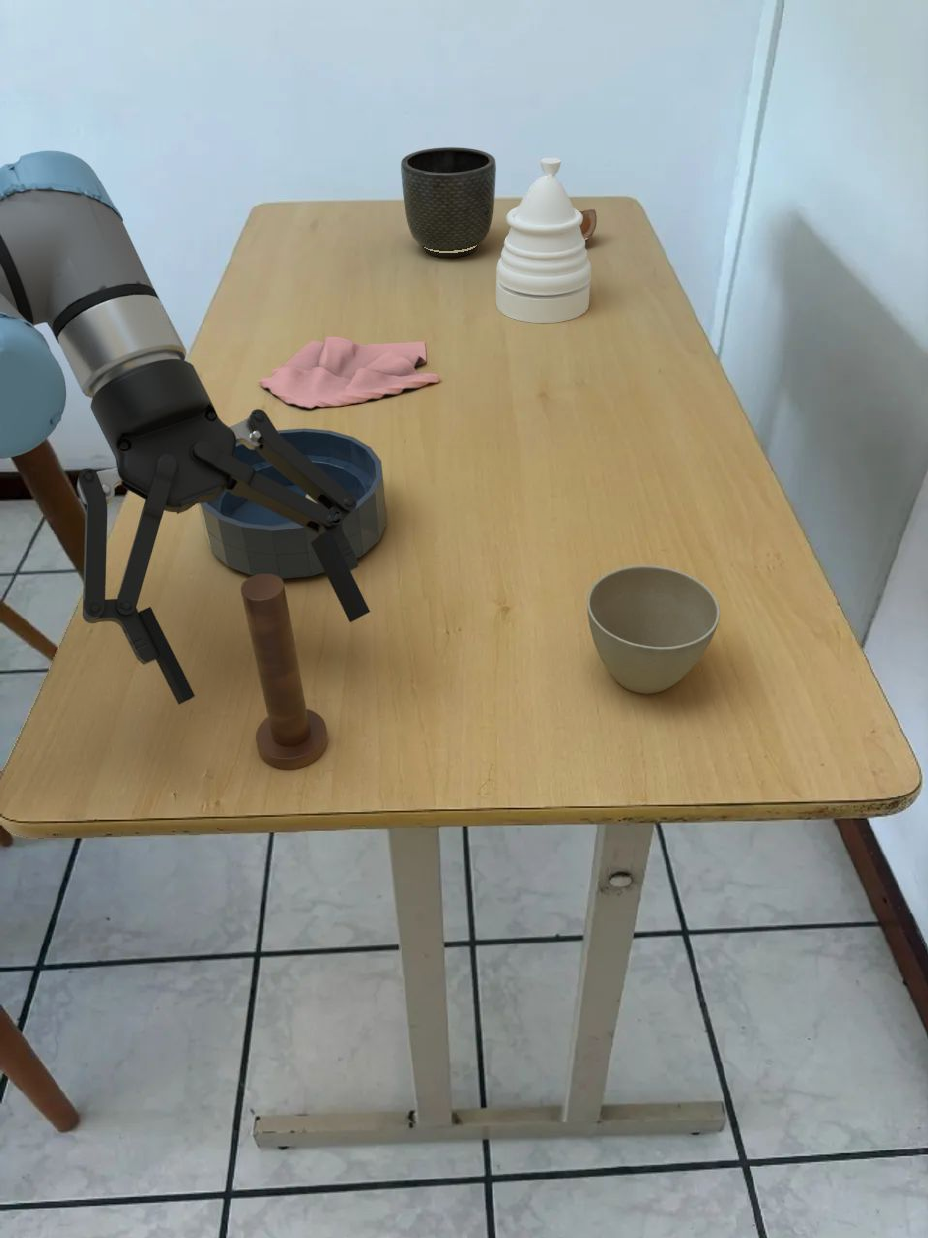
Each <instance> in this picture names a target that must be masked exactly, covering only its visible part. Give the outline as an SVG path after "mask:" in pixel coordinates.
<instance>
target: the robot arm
mask: <svg viewBox="0 0 928 1238" xmlns="http://www.w3.org/2000/svg"><path fill="white" fill-rule="evenodd" d="M44 323H46V324H47V325H48V327H49V328H50V330H51V332H52V334H53V336H54V338H55V340H56V342H57V344H58V345H59V346H60V347H59V348H61V350H62V354H63V355H64V357H65V359H66V361H67V363H68V365H69V367H70V369H71V372H72V374H73V375H74V377H75V380H76V382H77V384H78V386H79V388H80V390H81V392H82V393H83V395H85V396H86V397H87V398H90V399H91V402H90V410H91V412H92V414H93V416H94V418H95V420H96V422H97V424H98V426H99V428H100V430H101V432H102V434H103V436H104V438H105V440H106V442H107V444H108V446H109V448H110V450H111V452H112V454H113V456H114V458H115V465H116V466H114V467H110V468H106V469H103V470H97V471H95V470H94V469H93V468H89V467H88V468H83V469H82V470H80V471H79V474H78V476H77V482H76V483H77V484H76V491H77V493H78V494H77V495H79V499H80V501H81V504H82V508H83V510H84V512H85V523H84V525H85V526H84V555H83V556H84V557H83V559H84V561H83V589H82V590H83V591H82V593H83V594H82V617H83V619H84V621H85V622H86V623H88V624H97V623H103V622H113V623H116V624H118V625H119V626H120V628H121V630H122V632H123V634H124V636H125V638H126V640H127V642H128V644H129V646H130V648H131V649H132V652H133V653H134V654H133V655H134V656H135V657H136V660H137V661H139V663H141V664H142V665H143V666H145V665H147V664H149V663H151V662H154V661H156V663H157V665H158V667H159V669H160V671H161V673H162V675H163V677H164V679H165V681H166V683H167V685H168V687H169V689H170V691H171V692H172V695H173V696H174V699H175V701H176V703H177V704H178V705H182V704H183V703H186V702H188V701H190V700H191V699H193V698H195V697H196V694H195V693H194V691H193V689H192V687H191V685H190V683H189V681H188V679H187V677H186V675H185V673H184V671H183V669H182V666H181V665H180V663H179V661H178V659H177V657H176V655H175V653H174V651H173V649H172V647H171V645H170V643H169V641H168V639H167V637H166V635H165V633H164V631H163V629H162V627H161V624H160V623H159V621H158V619H157V616H156V615H155V613H154V611H153V609H152V607H151V606H149V607H147V608H144V609H142V610H140V611H139V610H138V608H137V606H138V603H139V598H140V596H141V592H142V588H143V585H144V581H145V579H146V575H147V570H148V567H149V564H150V560H151V557H152V553H153V551H154V546H155V543H156V539H157V535H158V532H159V528H160V526H161V525H160V524H161V521H162V519H163V515H164V513H165V511H166V512H168V513H176V515H179V514H181V513H184V512H187V511H188V510H190V509H191V508H192V507H194V506H195V505H198V503H205V502H210V501H213V500H215V499H218V497H219V496H220V495H221V494H222V493H223V492H224V490H225V491H227V492H229V493H231V494H233V495H236V496H242V497H245V498H247V499H249V500H251V501H253V502H255V503H257V504H259V505H261V506H263V507H265V508H267V509H269V510H271V511H273V512H275V513H277V514H279V515H281V516H283V517H285V518H287V519H289V520H291V521H293V522H295V523H297V524H299V525H301V526H303V527H305V528H307V529H309V530H311V531H313V532H315V533H317V534H319V536H318V537H317V538H316V539H315V540H314V541H313V542H311V545H312V547H313V549H314V551H315V553H316V555H317V557H318V559H319V561H320V563H321V565H322V567H323V569H324V571H325V572H324V573H325V576H326V577H327V579H328V581H329V583H330V585H331V587H332V589H333V591H334V593H335V596H336V597H337V600H338V601H339V603H340V605H341V607H342V610H343V612H344V614H345V616H346V617H347V620H348V621H349V623H351V622H354V621H356V620H358V619H360V618H362V617H363V616H366V615H367V614H369V613H371V610H370V608H369V607H368V604H367V602H366V600H365V597H364V596H363V593H362V592H361V589H360V588H359V586H358V584H357V581H356V579H355V578H354V576H353V573H352V571H354V570H356V569H357V568H358V567H359V565H358V563H359V562H358V558H356V556H355V554H354V552H353V550H352V548H351V546H350V544H349V542H348V540H347V538H346V536H345V534H344V532H343V529H342V522H343V520H344V519H345V518H346V517H347V516H348V515H349V514H350V513H351V512H352V511H353V509H355V508H356V506H357V501H356V499H355V498H354V496H352V495H351V494H350V493H349V492H348V491H346V490H345V489H344V488H343V487H342V486H340V485H339V484H338V483H337V482H336V481H334V480H333V479H332V478H331V477H330V476H329V475H327V474H326V473H325V472H324V471H323V470H321V469H320V468H319V467H318V466H317V465H315V464H314V463H313V462H312V461H311V460H309V459H308V458H307V457H306V456H305V455H303V454H302V453H301V452H300V451H299V450H297V449H296V448H295V447H294V446H293V445H291V444H290V443H289V442H288V441H287V440H286V439H284V438H283V437H282V436H281V435H280V434H279V433H278V432H277V431H278V429H277V428H276V427H275V425H274V424H273V422H272V420H271V419H270V417H269V415H268V414H267V413H266V412H265V411H264V410H262V409H261V408H260V409H259V408H257V409H254V410H252V411H251V413H250V414H249V416H248V417H247V418H246V419H243V420H241V421H239V422H237V423H236V424H233V425H231V426H228V425H227V424H226V423H224V422H223V420H222V419H221V418H220V417H219V414H218V412H217V411H216V409H215V406H214V404H213V402H212V400H211V398H210V396H209V394H208V392H207V390H206V388H205V386H204V384H203V382H202V380H201V378H200V376H199V374H198V372H197V370H196V368H195V366H194V364H193V363H191V362H188V361H186V358H187V356H188V354H187V348H186V347H185V345H184V343H183V341H182V339H181V337H180V335H179V333H178V332H177V329H176V328H175V326H174V324H173V322H172V320H171V318H170V316H169V314H168V312H167V310H166V309H165V306H164V304H163V303H162V301H161V298H160V297H159V295H158V293H157V292H156V290H155V288H154V285H153V283H152V282H151V280H150V278H149V275H148V273H147V271H146V269H145V267H144V264H143V262H142V260H141V257H140V256H139V254H138V252H137V249H136V247H135V245H134V243H133V241H132V239H131V237H130V235H129V232H128V231H127V228H126V226H125V224H124V218H123V217H122V214H121V212H120V211H119V210H118V208H117V207H116V206H115V204H114V203H113V201H112V198H111V197H110V195H109V193H108V191H107V189H106V188H105V187H104V184H103V183H102V181H101V180H100V179H99V176H98V175H97V173H96V172H95V170H94V169H93V168H92V167H91V166H90V164H89V163H87V162H86V161H85V160H84V159H82V158H81V157H79V156H77V155H75V154H72V153H70V152H66V151H61V150H40V151H35V152H30V153H26V154H23V155H21V156H19V160H18V161H16V162H14V163H5V164H4V165H2V166H0V460H5V459H8V458H15V457H17V456H22V455H24V454H26V453H28V452H31V451H32V450H34V449H36V448H37V447H39V446H40V445H41V444H42V443H44V442H45V441H46V440H47V439H48V438H49V437H50V436H51V435H52V434H53V432H54V431H55V430H56V428H57V426H58V424H59V423H61V421H62V415H63V413H64V411H65V408H66V403H67V402H66V401H67V385H66V379H65V375H64V373H63V370H62V367H61V366H60V363H59V362H58V360H57V359H56V357H55V355H54V354H53V351H52V350H51V347H50V345H49V343H48V341H47V339H46V338H45V336H44V335H43V333H42V332H40V330H38V329H37V328H35V326H37V325H40V324H44ZM236 443H242V444H244V445H245V446H246V447H247V448H248V449H250V450H257V452H258V453H259V454H260V455H261V456H262V457H263V458H264V459H265V460H266V461H267V462H269V463H270V464H271V465H272V466H273V467H275V468H276V469H277V470H278V471H279V472H281V473H282V474H283V475H284V476H285V477H287V478H288V479H289V480H290V481H292V482H293V483H294V484H295V485H296V486H298V487H299V488H300V489H301V490H302V491H304V492H305V493H306V494H307V495H308V496H310V497H311V498H312V499H313V500H314V501H316V502H317V503H316V502H314V501H312V500H310V499H308V498H306V497H304V496H302V495H300V494H298V493H296V492H294V491H292V490H290V489H288V488H286V487H284V486H282V485H281V484H279V483H277V482H275V481H273V480H271V479H269V478H267V477H265V476H263V475H261V474H259V473H257V472H256V471H255V469H254V468H253V467H251V466H249V465H247V464H245V463H243V462H241V461H239V460H237V459H235V458H234V453H235V447H236ZM118 486H122V487H123V489H126V490H128V492H129V491H130V492H131V493H133V494H135V495H136V496H138V497H140V498H142V499H143V500H144V503H143V508H142V510H141V513H140V517H139V520H138V525H137V529H136V531H135V535H134V539H133V542H132V546H131V549H130V553H129V556H128V560H127V562H126V567H125V570H124V573H123V576H122V580H121V583H120V587H119V591H118V594H117V598H110V599H107V598H106V585H107V583H106V582H107V547H108V545H107V544H108V543H107V542H108V505H109V504H111V503H112V502H113V501H114V498H115V494H116V491H115V490H116V488H117V487H118Z"/></svg>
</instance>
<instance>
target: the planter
mask: <svg viewBox="0 0 928 1238" xmlns="http://www.w3.org/2000/svg"><path fill="white" fill-rule="evenodd" d="M496 172H497V163H496V159H495V157H494V156H493V155H492V154H490V153H488V152H486V151H484V150H479V149H476V148H475V149H474V148H469V147H458V146H457V147H456V146H455V147H453V146H450V147H446V146H445V147H433V148H426V149H422V150H418V151H415V152H412V153H409V154H407V155H406V156H404V157H403V158H402V160H401V162H400V174H401V185H402V194H403V204H404V212H405V217H406V222H407V223H406V224H407V226H408V229H409V232H410V234H411V236H412V238H413V239H414V240H415V241H416V243H418V244H419V245H420V246H422V248H423V250H424V251H425V252H426V253H427V254H428V255H430V256H432V257H437V258H442V259H443V258H444V259H455V258H462V257H466V256H469V255H471V254H473V253H475V251H476V250H477V248H478V246H479V245H480V244H481V243H482V242H483V241H484V240H485V239H486V238H487V236H488V235H489V233H490V230H491V226H492V222H493V216H494V208H495V196H496V195H495V194H496V177H497V175H496V174H497V173H496ZM478 244H479V245H478ZM476 245H477V246H476ZM423 246H424V247H426V248H428V249H433V250H439V251H454V250H462V249H467V248H470V247H473V246H476V247H475V248H473V249H471V250H468V251H464V252H458V253H439V252H434V251H430V250H428V249H426V248H424V247H423Z"/></svg>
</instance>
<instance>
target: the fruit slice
mask: <svg viewBox="0 0 928 1238" xmlns="http://www.w3.org/2000/svg"><path fill="white" fill-rule="evenodd" d="M579 211H580V213H581V214H582V216H583V220H582V223H581V224H580V225H579V226H580V230H581V233H582V237H583V238H584V239H585V238H589V237H590V236H591V237H592V236H593V234H594V232H595V231H596V228H597V222H598V221H597V218H598V217H597V212H596V209H594V208H593V209H592V208H590V209H584V210H579ZM591 237H590V238H591ZM590 238H589V239H590Z"/></svg>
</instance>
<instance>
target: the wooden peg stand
mask: <svg viewBox="0 0 928 1238" xmlns="http://www.w3.org/2000/svg"><path fill="white" fill-rule="evenodd" d="M240 586H241V587H240V594H241V598H242V603H243V607H244V612H245V616H246V622H247V626H248V631H249V635H250V640H251V645H252V649H253V654H254V658H255V663H256V668H257V672H258V676H259V682H260V686H261V691H262V696H263V700H264V705H265V709H266V713H267V717H266V718H265V719H264V720H262V722H260V724H259V726H258V728H257V730H256V734H255V741H256V745H257V750H258V754H259V756H260V758H261V759H262V760H263V761H264V762H265V763H266V764H267V765H269V766H270V767H272V768H276V769H280V770H297V769H301V768H304V767H307V766H309V765H311V764H313V763H314V762H316V761H317V760H319V758H320V757H321V756H322V755H323V754H324V753H325V751H326V749H327V747H328V743H329V738H328V737H329V736H328V731H327V730H328V729H327V726H326V725H327V724H326V722H325V720H324V718H323V717H322V716H321V715H320V714H319V713H317V712H316V711H313V710H312V709H309V708H307V704H306V699H305V693H304V688H303V682H302V676H301V671H300V665H299V659H298V654H297V649H296V643H295V642H296V641H295V638H294V637H295V636H294V631H293V626H292V620H291V615H290V609H289V603H288V599H287V591H286V586H285V582H284V580H283V579H281V578H280V577H279V576H277V575H274V574H258V575H254V576H253V575H251V576H250V577H248V578H247V579H245V581H243V582H242V584H241V585H240Z"/></svg>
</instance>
